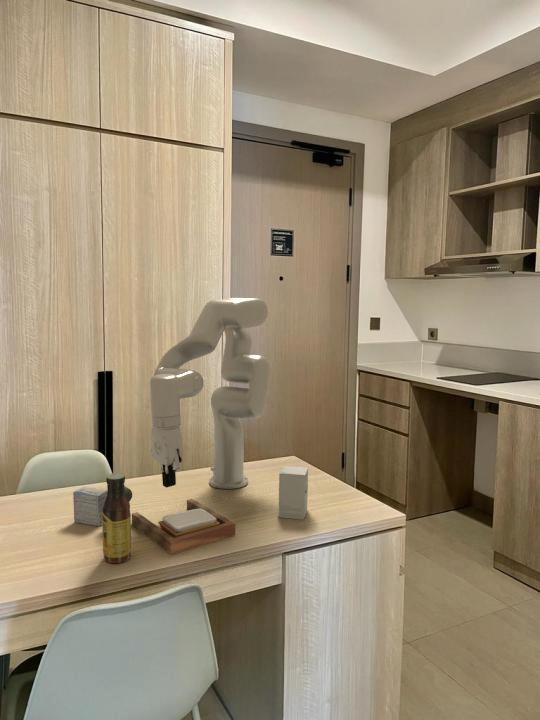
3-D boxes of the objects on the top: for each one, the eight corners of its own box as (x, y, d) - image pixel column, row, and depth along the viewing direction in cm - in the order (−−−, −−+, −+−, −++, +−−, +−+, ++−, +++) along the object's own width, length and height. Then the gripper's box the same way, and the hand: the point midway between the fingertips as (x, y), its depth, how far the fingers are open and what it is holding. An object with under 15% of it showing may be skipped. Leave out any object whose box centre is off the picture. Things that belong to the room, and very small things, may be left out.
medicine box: (108, 521, 148) (108, 489, 147) (98, 527, 144) (97, 495, 143) (84, 516, 151) (83, 486, 150) (73, 523, 146) (72, 491, 145)
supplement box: (304, 520, 150) (305, 475, 149) (277, 517, 152) (278, 473, 150) (308, 510, 158) (308, 467, 156) (282, 507, 159) (283, 465, 158)
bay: (110, 524, 145) (109, 485, 144) (186, 505, 160) (186, 469, 158) (153, 560, 126) (152, 515, 125) (235, 534, 140) (235, 494, 139)
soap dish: (175, 549, 132) (175, 529, 132) (158, 535, 140) (157, 516, 139) (220, 537, 140) (220, 517, 139) (201, 524, 147) (201, 505, 147)
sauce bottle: (106, 552, 130) (104, 470, 128) (133, 551, 130) (132, 470, 128) (100, 566, 123) (98, 479, 121) (128, 565, 124) (127, 479, 122)
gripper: (140, 417, 151) (144, 481, 154) (167, 429, 139) (170, 497, 142) (165, 412, 155) (168, 474, 158) (192, 423, 144) (195, 490, 147)
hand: (169, 485), depth 150 cm, fingers closed
